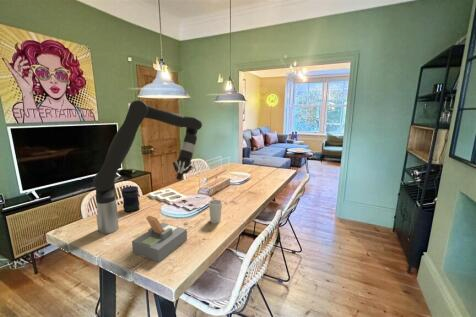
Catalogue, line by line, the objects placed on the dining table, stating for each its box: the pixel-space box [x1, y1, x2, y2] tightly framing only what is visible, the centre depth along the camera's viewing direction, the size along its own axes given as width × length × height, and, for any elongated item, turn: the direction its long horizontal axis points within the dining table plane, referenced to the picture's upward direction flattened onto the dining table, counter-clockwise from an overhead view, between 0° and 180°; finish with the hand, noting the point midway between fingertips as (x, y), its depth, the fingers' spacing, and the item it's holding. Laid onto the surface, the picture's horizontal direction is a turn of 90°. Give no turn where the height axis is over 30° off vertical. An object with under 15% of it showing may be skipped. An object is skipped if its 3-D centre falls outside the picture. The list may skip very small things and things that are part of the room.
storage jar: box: [121, 185, 141, 214], centre depth 153 cm, size 10×10×15 cm
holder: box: [148, 187, 187, 204], centre depth 169 cm, size 45×18×3 cm, turn 44°
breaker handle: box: [146, 215, 164, 235], centre depth 109 cm, size 2×5×12 cm, turn 65°
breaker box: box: [131, 222, 188, 263], centre depth 113 cm, size 20×16×9 cm
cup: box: [208, 199, 223, 224], centre depth 139 cm, size 8×8×12 cm
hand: (178, 179), depth 132 cm, fingers closed
